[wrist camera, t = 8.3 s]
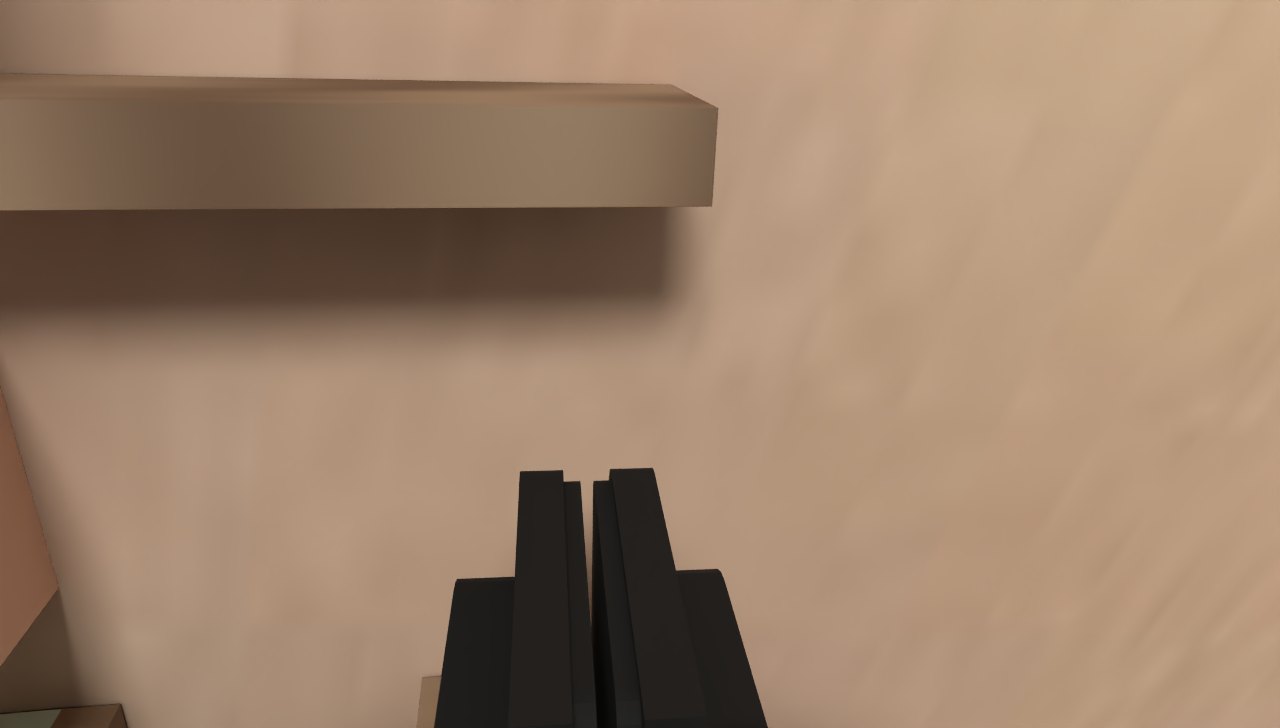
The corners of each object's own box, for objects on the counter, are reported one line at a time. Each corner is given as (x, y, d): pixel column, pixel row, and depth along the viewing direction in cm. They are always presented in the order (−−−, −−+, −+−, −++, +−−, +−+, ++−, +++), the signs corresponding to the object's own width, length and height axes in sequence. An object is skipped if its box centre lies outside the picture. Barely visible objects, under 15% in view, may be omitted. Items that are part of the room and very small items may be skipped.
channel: (672, 84, 13) (718, 108, 10) (638, 872, 20) (661, 1010, 17) (-154, 71, 11) (-359, 94, 9) (122, 937, 18) (57, 1102, 16)
